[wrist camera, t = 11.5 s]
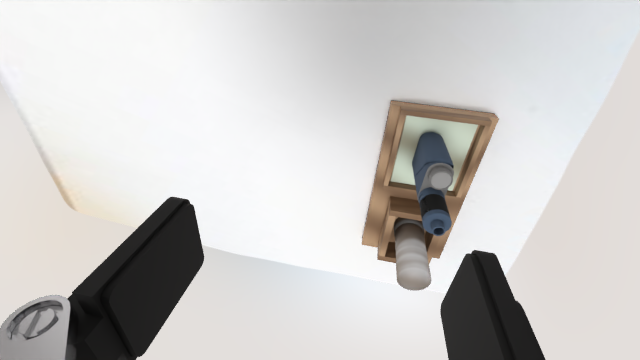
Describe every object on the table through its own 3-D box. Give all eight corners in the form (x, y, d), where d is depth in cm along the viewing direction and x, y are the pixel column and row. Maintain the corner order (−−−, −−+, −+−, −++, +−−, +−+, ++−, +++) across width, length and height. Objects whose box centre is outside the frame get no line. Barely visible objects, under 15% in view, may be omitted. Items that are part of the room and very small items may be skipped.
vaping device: (408, 168, 35) (418, 239, 25) (421, 127, 32) (438, 189, 22) (430, 172, 35) (449, 245, 25) (445, 131, 32) (473, 195, 22)
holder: (391, 100, 33) (393, 140, 24) (494, 113, 32) (535, 160, 23) (362, 237, 45) (357, 297, 36) (437, 250, 44) (451, 316, 35)
